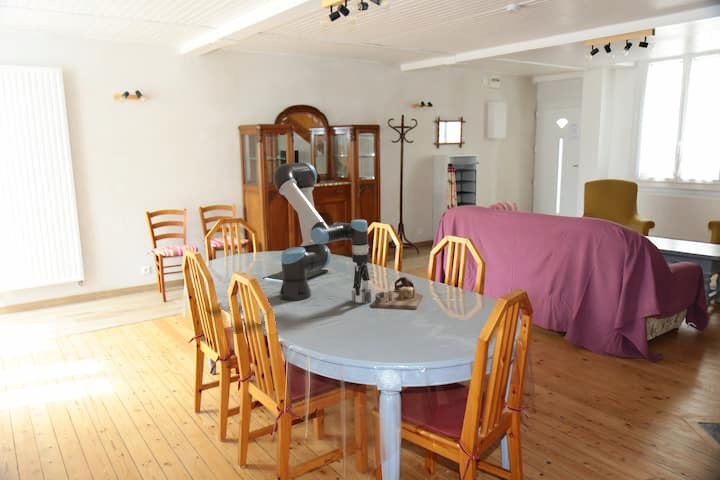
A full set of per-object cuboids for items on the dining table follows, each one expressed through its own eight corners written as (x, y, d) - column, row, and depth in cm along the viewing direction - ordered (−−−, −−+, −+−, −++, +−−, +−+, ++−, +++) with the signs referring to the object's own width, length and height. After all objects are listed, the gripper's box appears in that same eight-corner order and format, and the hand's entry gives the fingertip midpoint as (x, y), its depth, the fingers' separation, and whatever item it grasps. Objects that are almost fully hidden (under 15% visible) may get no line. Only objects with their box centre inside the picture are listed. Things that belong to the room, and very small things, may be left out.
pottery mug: (416, 294, 272) (409, 281, 269) (399, 302, 274) (391, 289, 271) (415, 282, 283) (408, 269, 280) (399, 290, 285) (391, 277, 282)
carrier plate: (372, 306, 252) (372, 294, 251) (381, 294, 271) (381, 282, 270) (416, 309, 247) (416, 296, 246) (422, 296, 266) (422, 284, 265)
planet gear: (349, 303, 258) (349, 293, 257) (354, 298, 267) (354, 288, 266) (368, 304, 256) (368, 293, 255) (373, 298, 265) (372, 288, 264)
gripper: (361, 259, 244) (363, 305, 248) (374, 248, 268) (375, 291, 272) (345, 258, 246) (347, 305, 250) (359, 248, 270) (360, 290, 274)
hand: (362, 298), depth 261 cm, fingers open, 13 cm apart
